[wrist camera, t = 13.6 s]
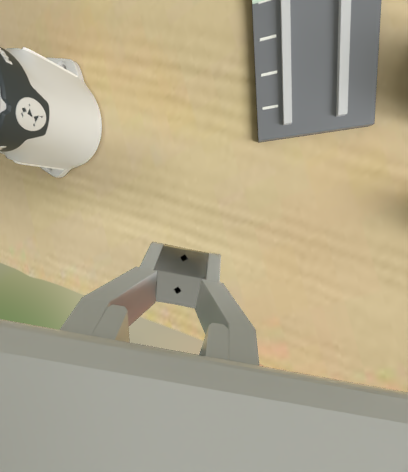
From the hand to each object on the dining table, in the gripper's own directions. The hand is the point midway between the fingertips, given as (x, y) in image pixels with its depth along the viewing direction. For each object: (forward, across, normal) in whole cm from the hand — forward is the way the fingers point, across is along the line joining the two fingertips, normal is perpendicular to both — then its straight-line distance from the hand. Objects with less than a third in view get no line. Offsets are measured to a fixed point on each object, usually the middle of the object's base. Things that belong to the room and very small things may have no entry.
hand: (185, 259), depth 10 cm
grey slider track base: (+31, -9, -13) cm, 35 cm away
